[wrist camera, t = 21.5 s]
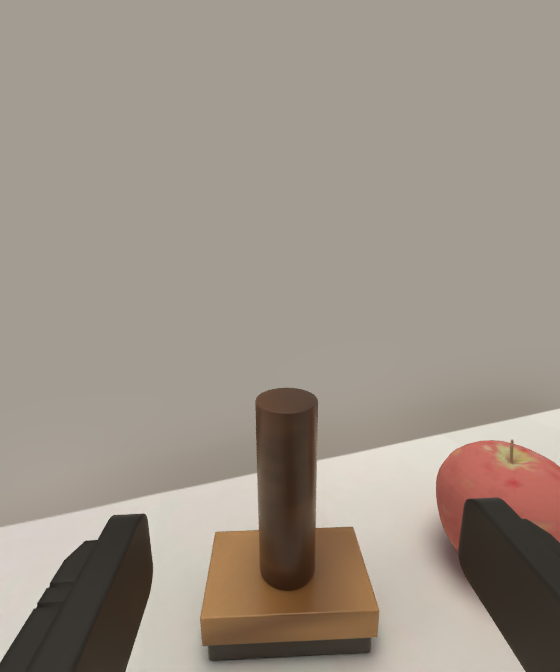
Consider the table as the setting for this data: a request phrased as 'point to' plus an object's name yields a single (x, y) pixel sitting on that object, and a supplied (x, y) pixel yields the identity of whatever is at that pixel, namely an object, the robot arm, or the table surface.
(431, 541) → the table surface
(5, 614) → the table surface
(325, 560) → the wooden handled stamp
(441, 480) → the apple
